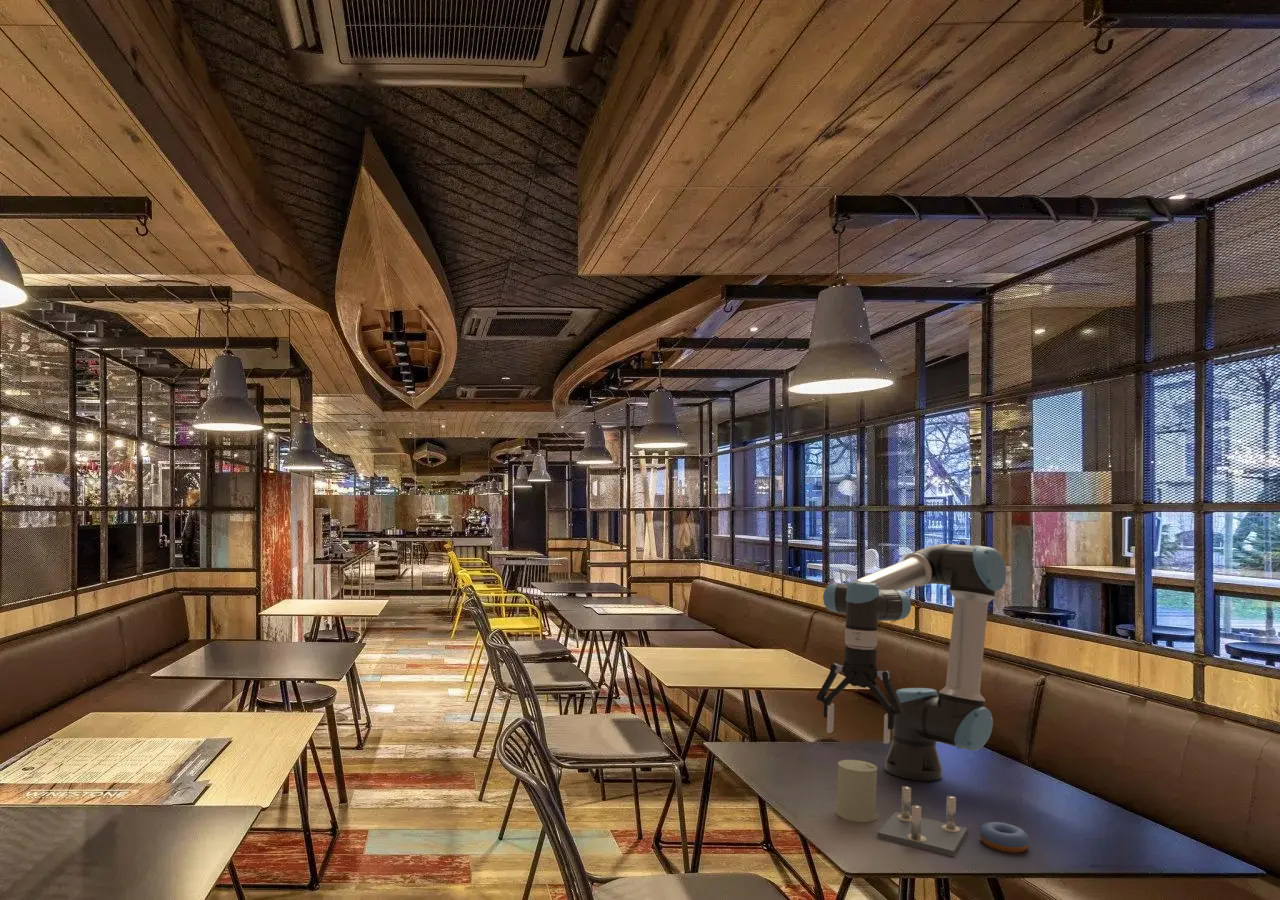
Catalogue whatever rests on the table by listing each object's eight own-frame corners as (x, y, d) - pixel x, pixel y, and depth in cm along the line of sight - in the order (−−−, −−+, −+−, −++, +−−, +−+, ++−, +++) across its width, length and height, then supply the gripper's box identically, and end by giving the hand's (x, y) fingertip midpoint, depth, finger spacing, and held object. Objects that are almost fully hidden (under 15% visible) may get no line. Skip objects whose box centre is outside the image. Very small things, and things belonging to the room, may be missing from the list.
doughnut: (1000, 855, 174) (1001, 832, 174) (969, 839, 183) (970, 817, 184) (1039, 857, 176) (1040, 834, 177) (1006, 841, 186) (1007, 820, 187)
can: (877, 824, 189) (879, 771, 190) (836, 819, 191) (838, 766, 191) (874, 810, 198) (876, 759, 199) (835, 806, 200) (836, 755, 200)
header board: (895, 817, 194) (895, 810, 194) (967, 833, 186) (967, 827, 186) (877, 837, 181) (877, 831, 181) (953, 856, 172) (953, 849, 172)
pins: (902, 816, 191) (903, 785, 192) (956, 828, 185) (956, 796, 186) (886, 834, 180) (887, 801, 180) (943, 848, 173) (944, 814, 174)
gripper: (805, 641, 201) (802, 730, 199) (910, 655, 187) (907, 750, 186) (816, 638, 207) (812, 724, 205) (917, 652, 194) (915, 743, 192)
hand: (857, 737), depth 195 cm, fingers open, 13 cm apart
